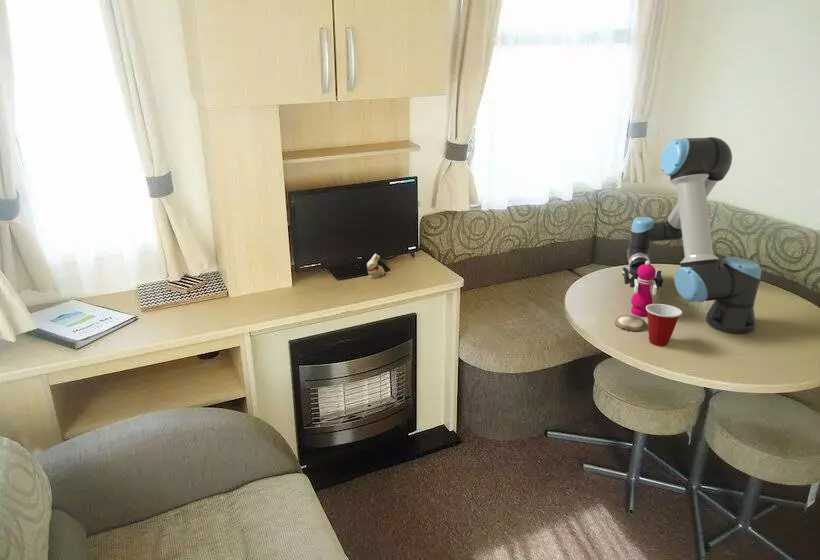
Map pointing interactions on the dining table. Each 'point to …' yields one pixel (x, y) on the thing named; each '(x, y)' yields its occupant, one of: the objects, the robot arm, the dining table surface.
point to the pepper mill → (643, 290)
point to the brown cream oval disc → (630, 323)
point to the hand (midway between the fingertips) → (645, 290)
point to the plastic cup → (661, 323)
